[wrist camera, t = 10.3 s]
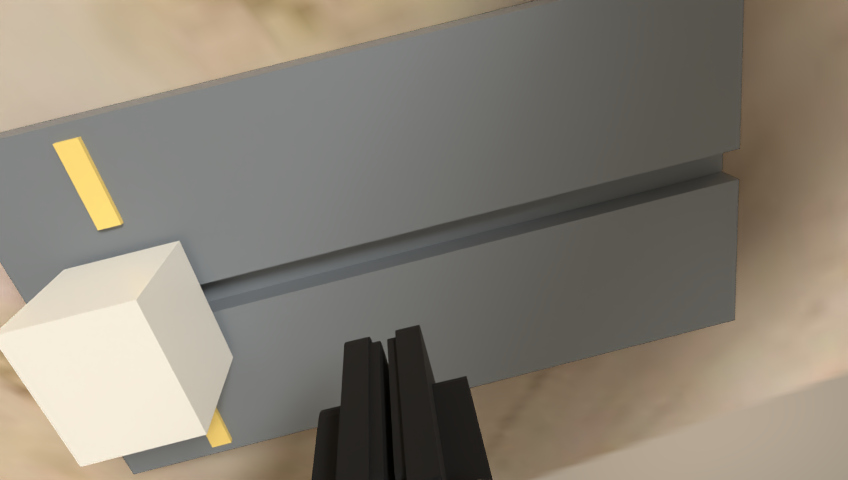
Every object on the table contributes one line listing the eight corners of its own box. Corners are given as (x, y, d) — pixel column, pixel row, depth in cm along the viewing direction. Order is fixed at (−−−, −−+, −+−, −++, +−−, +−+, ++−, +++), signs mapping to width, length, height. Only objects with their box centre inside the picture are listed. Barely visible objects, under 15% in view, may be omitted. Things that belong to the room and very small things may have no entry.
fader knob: (187, 229, 19) (136, 299, 15) (238, 342, 21) (206, 434, 17) (77, 256, 19) (-9, 336, 15) (139, 367, 21) (80, 466, 17)
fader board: (699, -40, 19) (749, -47, 17) (700, 291, 25) (737, 322, 23) (-17, 136, 19) (-72, 157, 16) (153, 430, 25) (131, 478, 22)
